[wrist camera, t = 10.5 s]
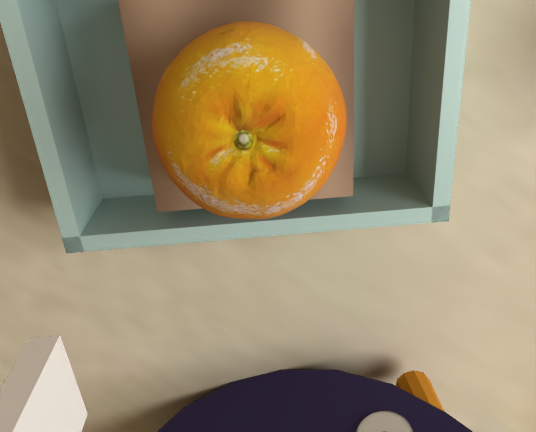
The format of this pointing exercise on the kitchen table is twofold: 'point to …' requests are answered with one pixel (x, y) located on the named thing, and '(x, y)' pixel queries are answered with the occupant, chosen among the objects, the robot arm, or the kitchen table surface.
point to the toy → (318, 405)
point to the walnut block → (218, 14)
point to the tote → (200, 220)
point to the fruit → (249, 121)
